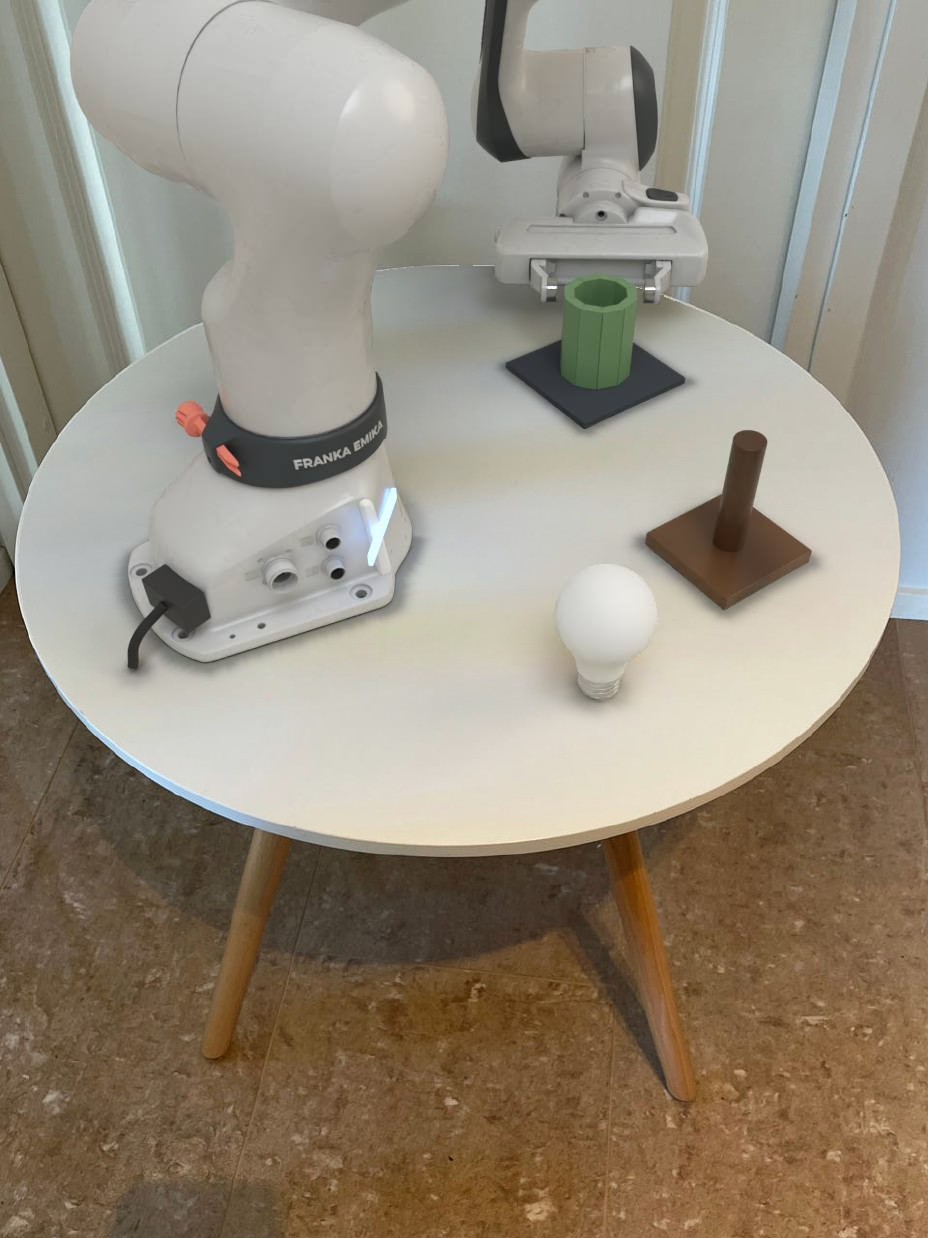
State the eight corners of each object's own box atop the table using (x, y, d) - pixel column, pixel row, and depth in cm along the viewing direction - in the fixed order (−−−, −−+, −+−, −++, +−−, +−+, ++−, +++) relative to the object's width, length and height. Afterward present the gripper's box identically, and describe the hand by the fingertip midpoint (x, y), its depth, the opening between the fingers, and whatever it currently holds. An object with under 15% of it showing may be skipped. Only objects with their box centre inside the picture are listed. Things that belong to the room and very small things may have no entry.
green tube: (590, 397, 96) (596, 319, 91) (546, 364, 100) (548, 287, 94) (643, 374, 99) (652, 296, 93) (598, 342, 103) (604, 266, 97)
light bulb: (641, 735, 71) (659, 624, 63) (543, 720, 72) (548, 609, 64) (649, 661, 76) (667, 548, 67) (557, 648, 77) (563, 536, 69)
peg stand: (724, 610, 79) (749, 497, 71) (644, 543, 84) (659, 431, 76) (809, 561, 82) (843, 448, 74) (727, 500, 87) (750, 388, 79)
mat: (584, 429, 94) (584, 423, 94) (505, 367, 101) (505, 362, 101) (685, 383, 99) (685, 377, 98) (603, 327, 106) (603, 321, 105)
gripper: (495, 192, 105) (486, 262, 95) (704, 194, 103) (716, 265, 94) (496, 251, 109) (487, 324, 100) (696, 254, 108) (706, 328, 99)
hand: (600, 296), depth 97 cm, fingers open, 8 cm apart
